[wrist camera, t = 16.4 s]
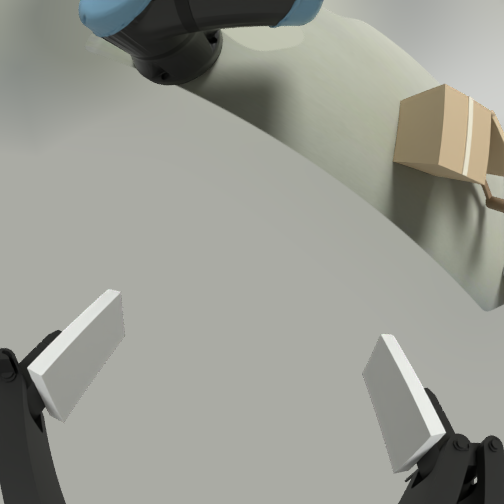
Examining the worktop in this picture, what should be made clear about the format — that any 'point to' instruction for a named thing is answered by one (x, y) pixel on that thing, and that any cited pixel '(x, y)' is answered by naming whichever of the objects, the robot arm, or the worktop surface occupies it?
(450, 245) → the worktop surface
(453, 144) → the carton
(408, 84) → the worktop surface
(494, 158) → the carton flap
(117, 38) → the robot arm
